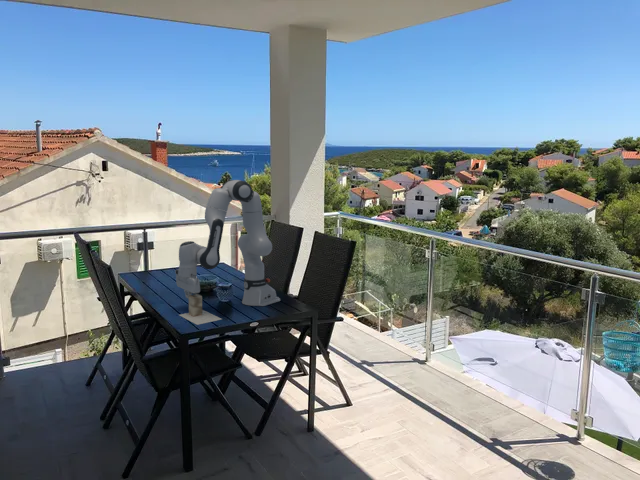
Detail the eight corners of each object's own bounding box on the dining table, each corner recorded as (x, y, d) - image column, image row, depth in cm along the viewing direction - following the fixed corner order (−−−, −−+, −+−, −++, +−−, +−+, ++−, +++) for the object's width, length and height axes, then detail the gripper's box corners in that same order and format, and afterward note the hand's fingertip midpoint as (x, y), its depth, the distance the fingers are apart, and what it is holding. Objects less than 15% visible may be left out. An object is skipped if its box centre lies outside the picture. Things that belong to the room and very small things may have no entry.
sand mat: (203, 310, 256) (203, 309, 256) (222, 320, 241) (222, 319, 241) (178, 315, 246) (178, 314, 246) (197, 325, 232) (197, 324, 232)
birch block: (197, 312, 251) (197, 294, 249) (202, 314, 247) (202, 296, 246) (188, 314, 247) (188, 295, 246) (193, 316, 244) (193, 297, 242)
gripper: (203, 275, 244) (203, 301, 246) (184, 268, 259) (185, 293, 261) (191, 276, 240) (192, 303, 242) (173, 269, 255) (174, 295, 257)
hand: (188, 298), depth 252 cm, fingers closed
